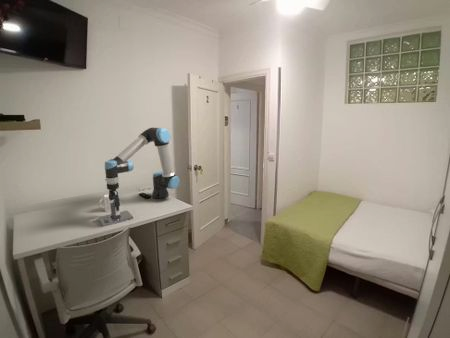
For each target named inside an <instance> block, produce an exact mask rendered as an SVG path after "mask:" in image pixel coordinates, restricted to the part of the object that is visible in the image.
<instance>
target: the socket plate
mask: <svg viewBox="0 0 450 338" xmlns="http://www.w3.org/2000/svg"><path fill="white" fill-rule="evenodd" d="M131 219H132V220H134V216H133V215H132V213H130V212H129V211H128V210H123V211H120V217H119V218H115V219H112V217H111V213H109V214H105V215H100V216H97V220H98V221H99V223H100V225H101V226H102V227H104V228H105V227H107V226H112V225H115V224H119V223H122V222H128V221H130V220H131ZM127 220H128V221H127Z"/></svg>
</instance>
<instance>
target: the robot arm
mask: <svg viewBox="0 0 450 338" xmlns="http://www.w3.org/2000/svg"><path fill="white" fill-rule="evenodd" d="M171 138H172V137H171V133H170V131H169V129H166V128H164V127H149V128H147V129H144V131H142V132H141V133H140V134H139V135H138V138H136V139H135V140H133V142H131V143H130V144H129V145H128V146H127V147H126V148H125V149H123V150H122V151H121V152H119V154H118V155H116V156H115V157H114V158H110V159H108V160H107V161H105V162H104V171H105V182H106V189H107V190H108V194H109V199H110V203H113V201H114V203H115V206H114V207H115V213H116V215H120V212H121V209H120V207H121V203H120V197H119V192H118V189H119V188H120V183H119V174H123V173H129V172H133V170H134V167H135V166H134V163H133V161H131V160H129V159H130V158H132V157H133V156H134V155H135V154H136V153H137V152H138V151H140V150H141V149H142V148H143V147H144V146H146V145H149V144H150V143H154V147H157V148H156V149H157V153H158V155H159V156H158V157H159V161H160V165H161V169H162V171H156V172H154V173H153V174H152V182H153V183H152V185H153V189H152V193H151V198H153V199H155V200H162V199H166V198H168V197H169V196H170V195H169V194H170V193H169V190H168V189H170V190H175V189H176V188H177V187H178V186H179V184H180V177H178V176H176V172H175V171H174V170H173V166H172V160H171V155H170V151H169V144H170V140H171Z"/></svg>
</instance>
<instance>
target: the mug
mask: <svg viewBox="0 0 450 338" xmlns="http://www.w3.org/2000/svg"><path fill="white" fill-rule="evenodd" d="M103 200H104V201H103ZM102 201H103V202H104V205H101V204H99V206H100V207H101V208H103V209H104V211H105V212H108V213H109V212H110V213H111V207H110V199H109V193H107V194H104V195H103V197H102V198H101V199H100V200H99V203H101V202H102Z"/></svg>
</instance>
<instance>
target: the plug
mask: <svg viewBox="0 0 450 338" xmlns="http://www.w3.org/2000/svg"><path fill="white" fill-rule="evenodd" d="M114 206H115V203H114V201H113V203H110V207H111V212H110V214H111V217H112V219H115V218H119V217H120V215H116V213H115V207H114Z"/></svg>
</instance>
